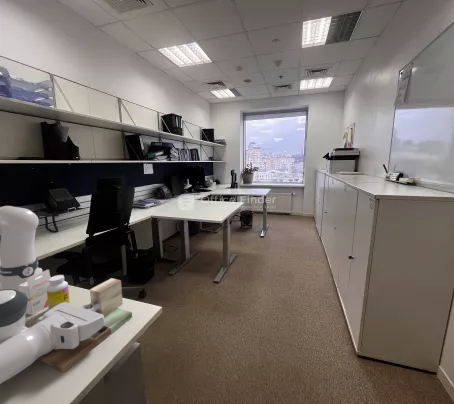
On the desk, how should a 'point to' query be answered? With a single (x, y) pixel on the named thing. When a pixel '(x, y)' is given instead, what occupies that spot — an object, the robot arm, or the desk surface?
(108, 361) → the desk surface
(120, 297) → the birch block
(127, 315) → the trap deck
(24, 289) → the ink cartridge box
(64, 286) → the supplement bottle
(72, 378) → the desk surface
